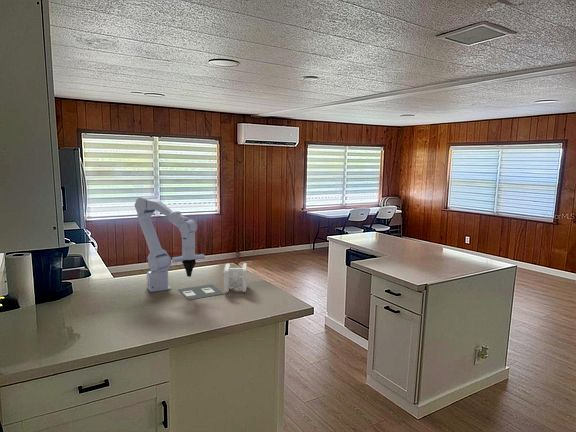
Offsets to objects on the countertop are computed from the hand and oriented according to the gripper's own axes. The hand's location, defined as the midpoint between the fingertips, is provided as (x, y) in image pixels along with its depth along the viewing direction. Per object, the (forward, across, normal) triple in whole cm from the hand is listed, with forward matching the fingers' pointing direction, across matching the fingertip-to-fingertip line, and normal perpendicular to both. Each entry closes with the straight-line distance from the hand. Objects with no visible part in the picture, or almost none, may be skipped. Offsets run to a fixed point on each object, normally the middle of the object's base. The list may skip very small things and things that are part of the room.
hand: (188, 276), depth 180 cm
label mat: (+8, +6, 0) cm, 10 cm away
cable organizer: (+8, +21, -5) cm, 23 cm away
